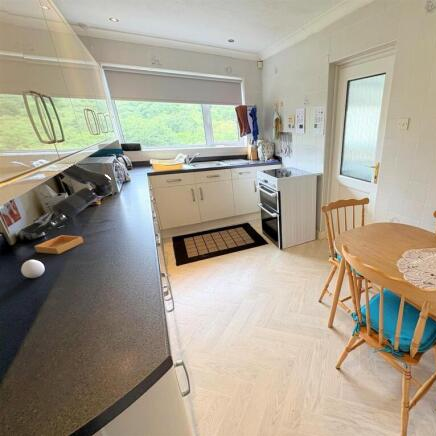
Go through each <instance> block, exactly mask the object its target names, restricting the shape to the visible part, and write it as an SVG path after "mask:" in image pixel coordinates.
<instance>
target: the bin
mask: <svg viewBox="0 0 436 436" xmlns="http://www.w3.org/2000/svg"><path fill="white" fill-rule="evenodd" d="M81 244H84V239H83V236H76V235H63V234H62V235H59V236H57V237H56V236H55V237H54V238H51V239H49V240H46V241H44V242H42V243H39V244H36V245H34V249H35V251H36V253H42V254H54V255H59V254H62V253H64V252H66V251H68V250H70V249H73V248H75V247H77V246H79V245H81Z"/></svg>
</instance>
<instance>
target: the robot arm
mask: <svg viewBox="0 0 436 436" xmlns="http://www.w3.org/2000/svg"><path fill="white" fill-rule="evenodd" d="M73 164H74V165H73V166H71V167H69V168H68V169H66V170H64V171H63V172H61V173H60V174H62V175H63V176H64V177H67V178H69V179H71V180H73V181H75V182H78V183H80V184H83V185H90V184H92V185H93V186H94V187H92V188H89V187H82V188H80V189H79V190H77V191H76V192H74V193H72V194H70V195H68V196H66V197H64V198H63V199H62V200H60V201H58V202H57V203H55V204H53V205H52V206H51V209H52V210H53V211H52V212H48V211H47V212H45V213H44V214H42V215H40V216H39V217H37V218H35V219H34V220H33V221H32V223H31V224H30V225H28V226H26V227H25V228H23V231H24V232H25V233H27V234H31V233H33V234H35V235H36V236H40V235H42V234H44V232H45V233H46V231H48V230H50V229H55V228H56V227H58V226H59V225H61V223H63V222H65V221H66V220H71V219H72V218H73V217H75V216H76V215H78V214H79V213H80V212H82V211H83V210H84V209H86V208H87V207H88V206H89V205H91V204H93V203H94V202H95V201H97V200H98V201H99V200H101V199H103V198H106V197H107V196H109V195H111V194H112V193H113V191H114V185H113V181H112V179H111V177H109V176H108V175H107V174H104V173H101V172H97V171H92V170H89V169H87V168H85V167H83V166H80V165H78V164H75V163H73Z"/></svg>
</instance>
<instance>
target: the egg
mask: <svg viewBox="0 0 436 436" xmlns="http://www.w3.org/2000/svg"><path fill="white" fill-rule="evenodd" d="M20 271H21V274H22V275H23V276H24V277H26V278H29V279H36V278H38V277H41V276H42V275H43V274H44V272H45V266H44V264H43V263H42V262H41V261H39V260H36V259H29V260H26V261H25V262H24V263H23V264H22V265H21V268H20Z"/></svg>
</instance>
